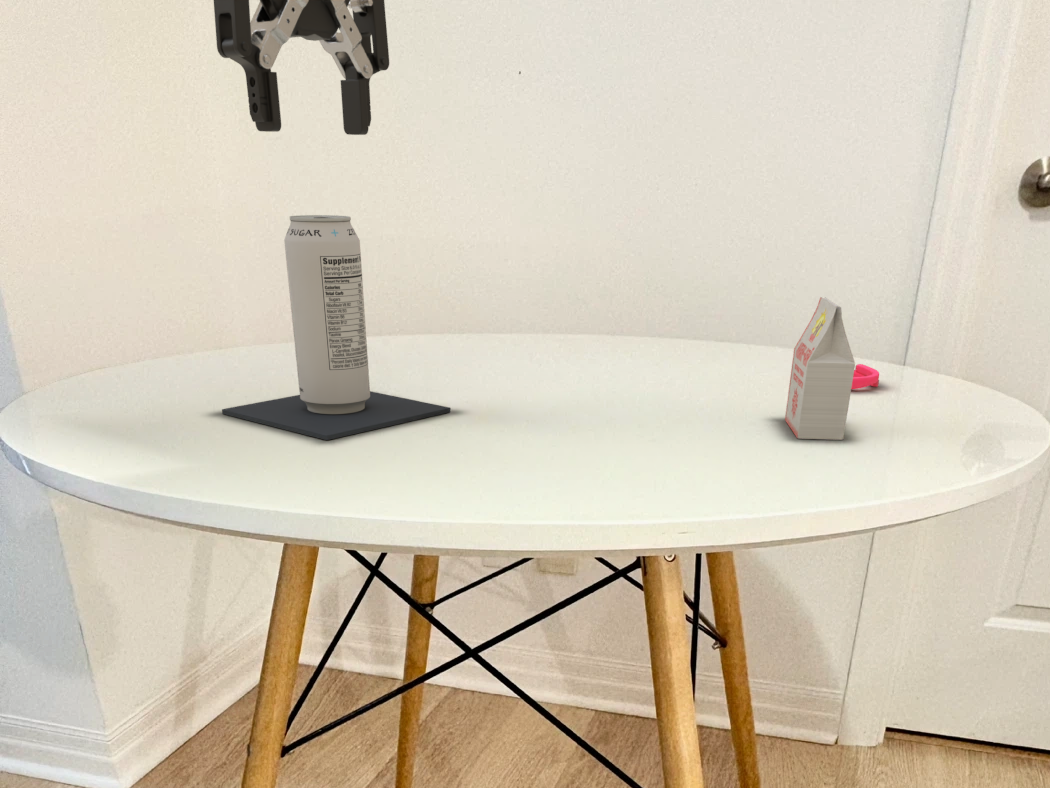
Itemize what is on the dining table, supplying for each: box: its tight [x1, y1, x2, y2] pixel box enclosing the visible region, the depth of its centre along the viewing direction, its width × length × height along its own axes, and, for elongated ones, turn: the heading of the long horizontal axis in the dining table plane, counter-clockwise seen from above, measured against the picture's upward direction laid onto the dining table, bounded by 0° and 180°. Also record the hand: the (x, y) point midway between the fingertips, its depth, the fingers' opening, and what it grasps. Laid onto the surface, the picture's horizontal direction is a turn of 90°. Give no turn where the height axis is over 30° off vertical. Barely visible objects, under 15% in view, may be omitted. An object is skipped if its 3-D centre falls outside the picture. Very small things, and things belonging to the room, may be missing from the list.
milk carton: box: [784, 296, 856, 441], centre depth 82 cm, size 4×7×10 cm, turn 176°
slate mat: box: [221, 390, 451, 441], centre depth 88 cm, size 14×14×1 cm
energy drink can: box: [283, 214, 371, 414], centre depth 84 cm, size 6×6×15 cm
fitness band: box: [851, 363, 880, 390], centre depth 102 cm, size 8×6×2 cm
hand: (314, 133), depth 77 cm, fingers open, 8 cm apart
